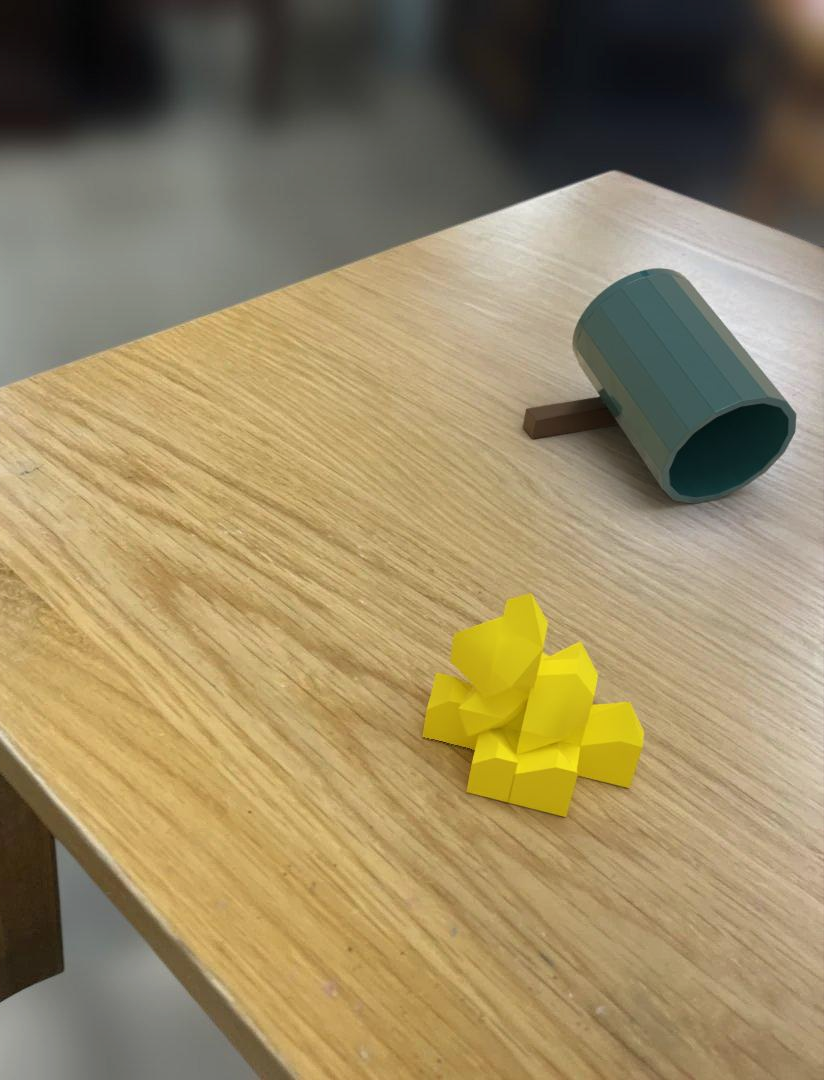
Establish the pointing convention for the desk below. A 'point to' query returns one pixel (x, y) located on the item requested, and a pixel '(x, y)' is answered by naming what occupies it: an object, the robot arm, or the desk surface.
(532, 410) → the strip
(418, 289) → the desk surface
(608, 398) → the cup
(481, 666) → the yellow faceted cluster
